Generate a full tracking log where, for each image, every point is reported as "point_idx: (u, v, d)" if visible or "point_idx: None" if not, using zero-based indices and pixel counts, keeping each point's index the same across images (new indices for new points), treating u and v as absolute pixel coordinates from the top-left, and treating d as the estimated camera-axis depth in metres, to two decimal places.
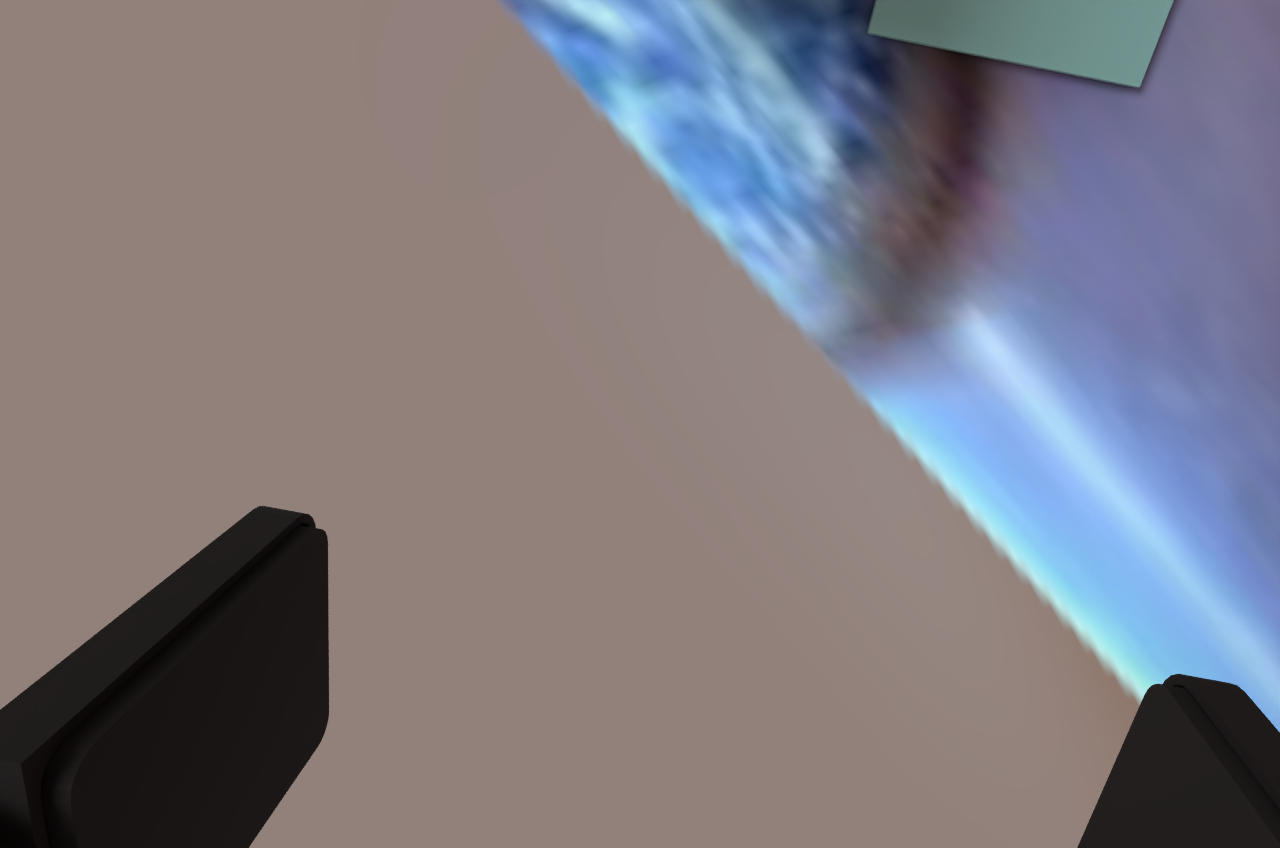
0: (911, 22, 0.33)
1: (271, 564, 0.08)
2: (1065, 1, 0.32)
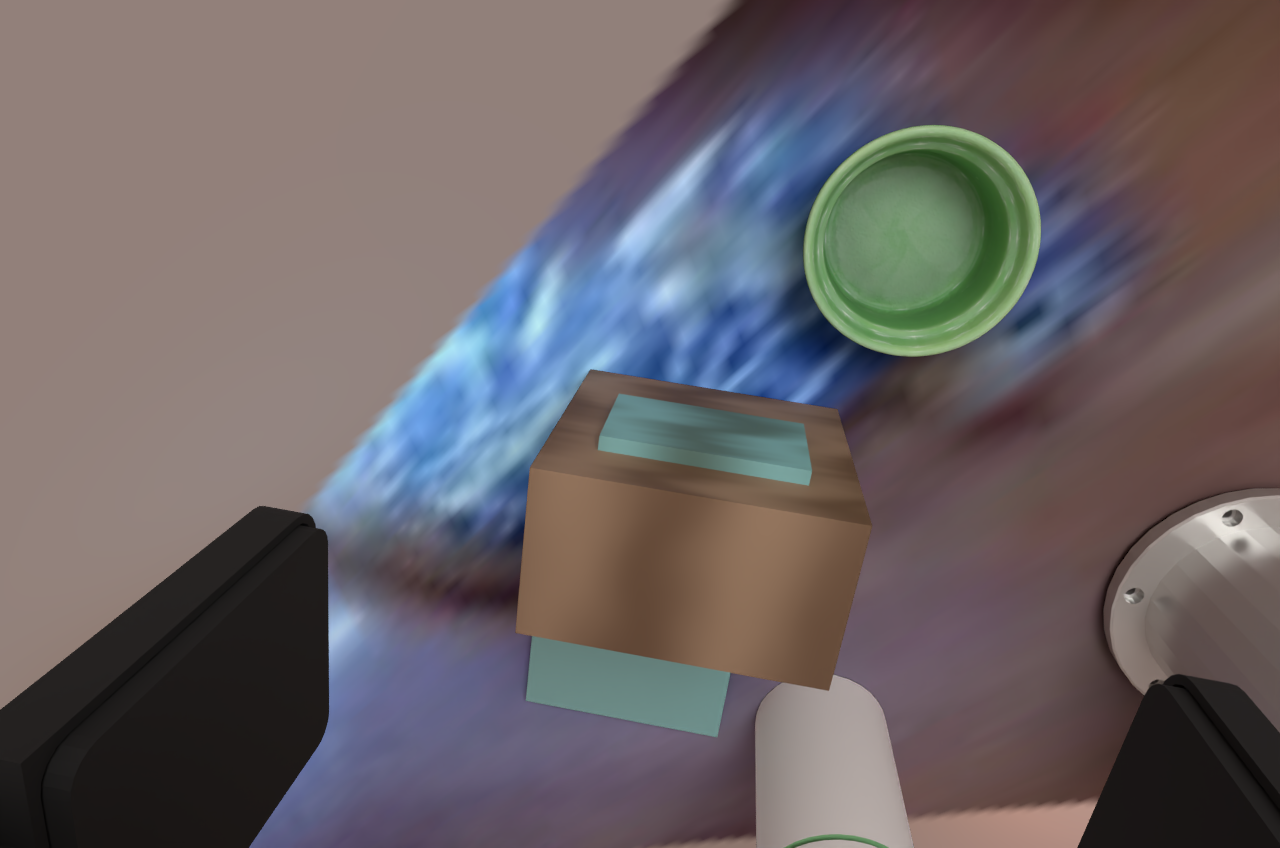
0: None
1: (271, 564, 0.08)
2: (574, 652, 0.45)
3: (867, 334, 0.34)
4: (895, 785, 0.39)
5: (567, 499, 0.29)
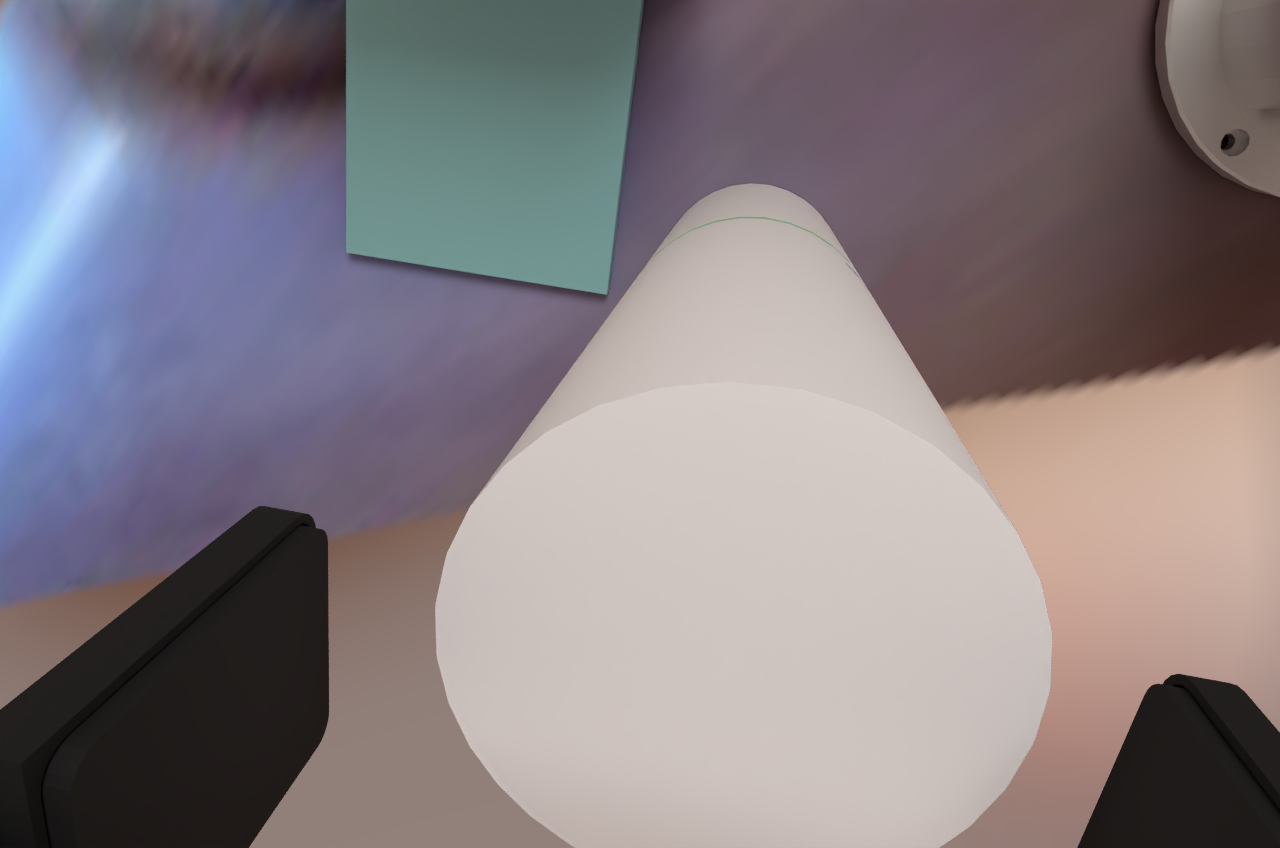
0: (363, 1, 0.31)
1: (271, 564, 0.08)
2: (405, 163, 0.32)
3: None
4: (842, 248, 0.26)
5: None
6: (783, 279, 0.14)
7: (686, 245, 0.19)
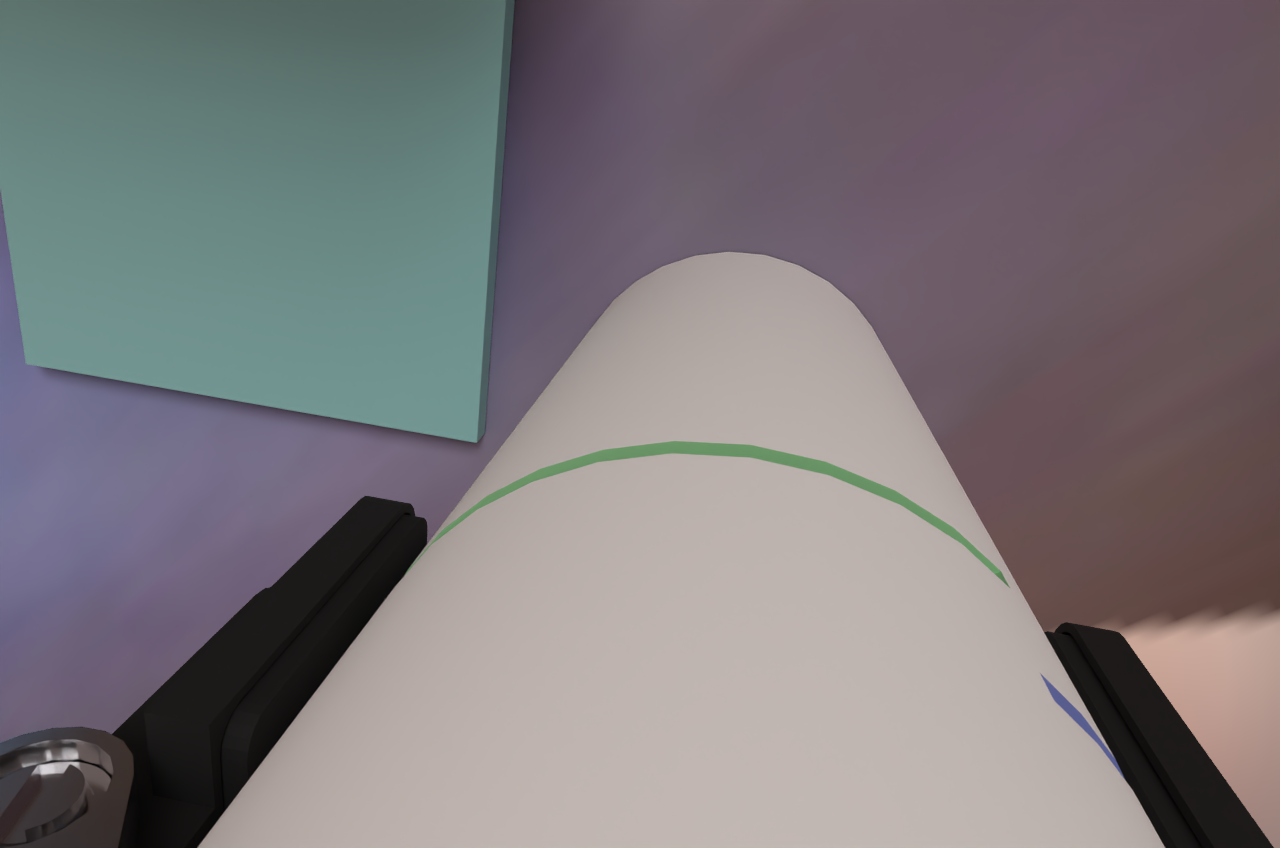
0: None
1: (386, 549, 0.09)
2: (105, 212, 0.18)
3: None
4: (928, 429, 0.12)
5: None
6: None
7: (416, 694, 0.05)
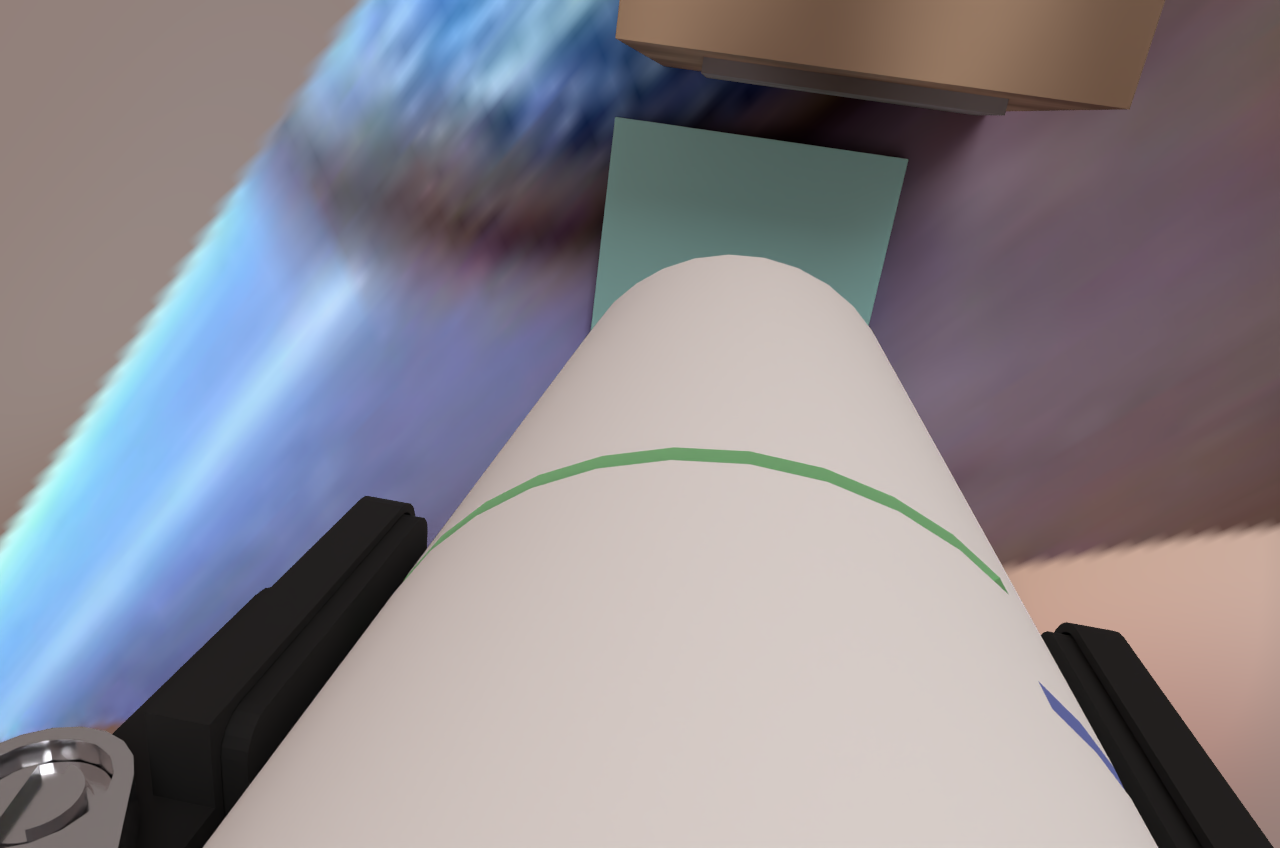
0: (627, 162, 0.32)
1: (386, 550, 0.09)
2: None
3: None
4: (927, 433, 0.12)
5: None
6: None
7: (415, 704, 0.05)
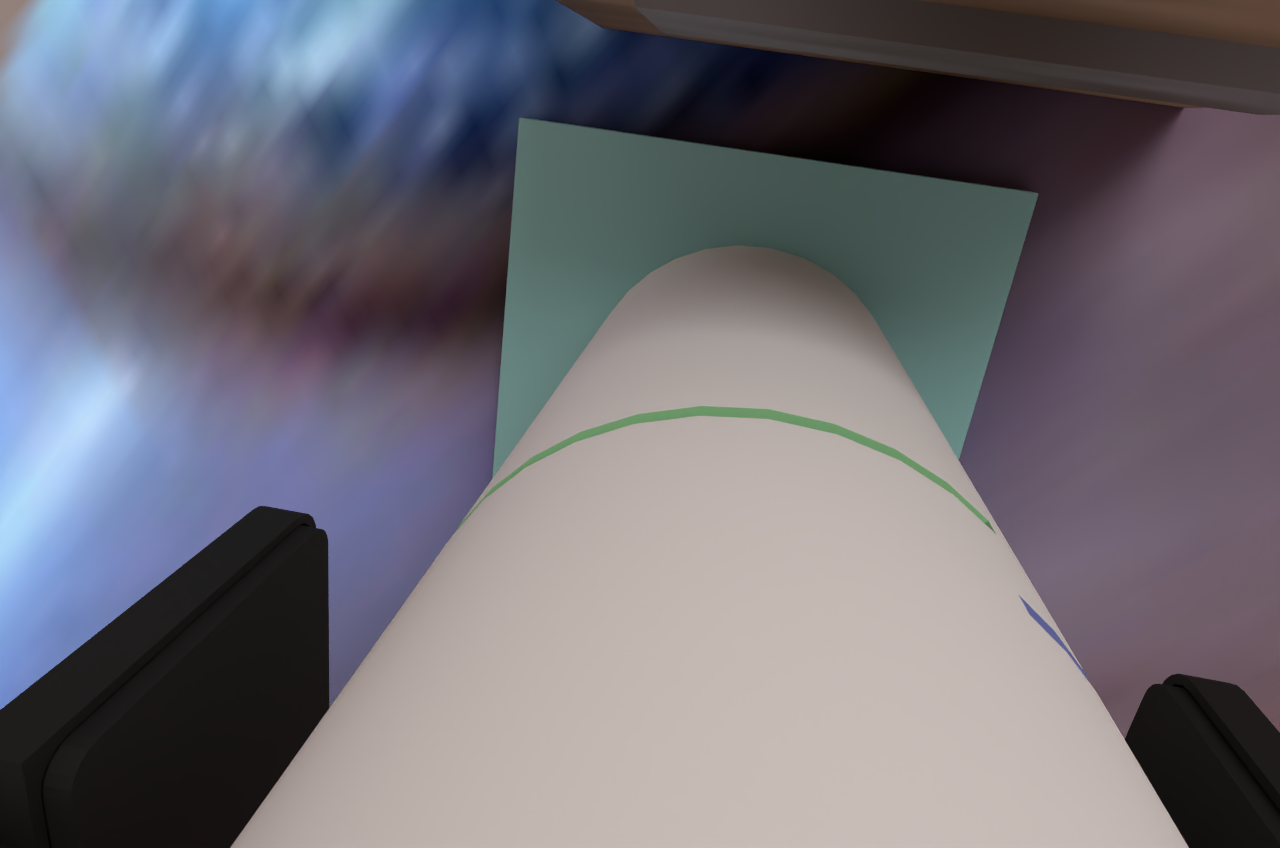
0: (542, 196, 0.18)
1: (271, 564, 0.08)
2: None
3: None
4: (926, 406, 0.13)
5: None
6: None
7: (502, 598, 0.05)
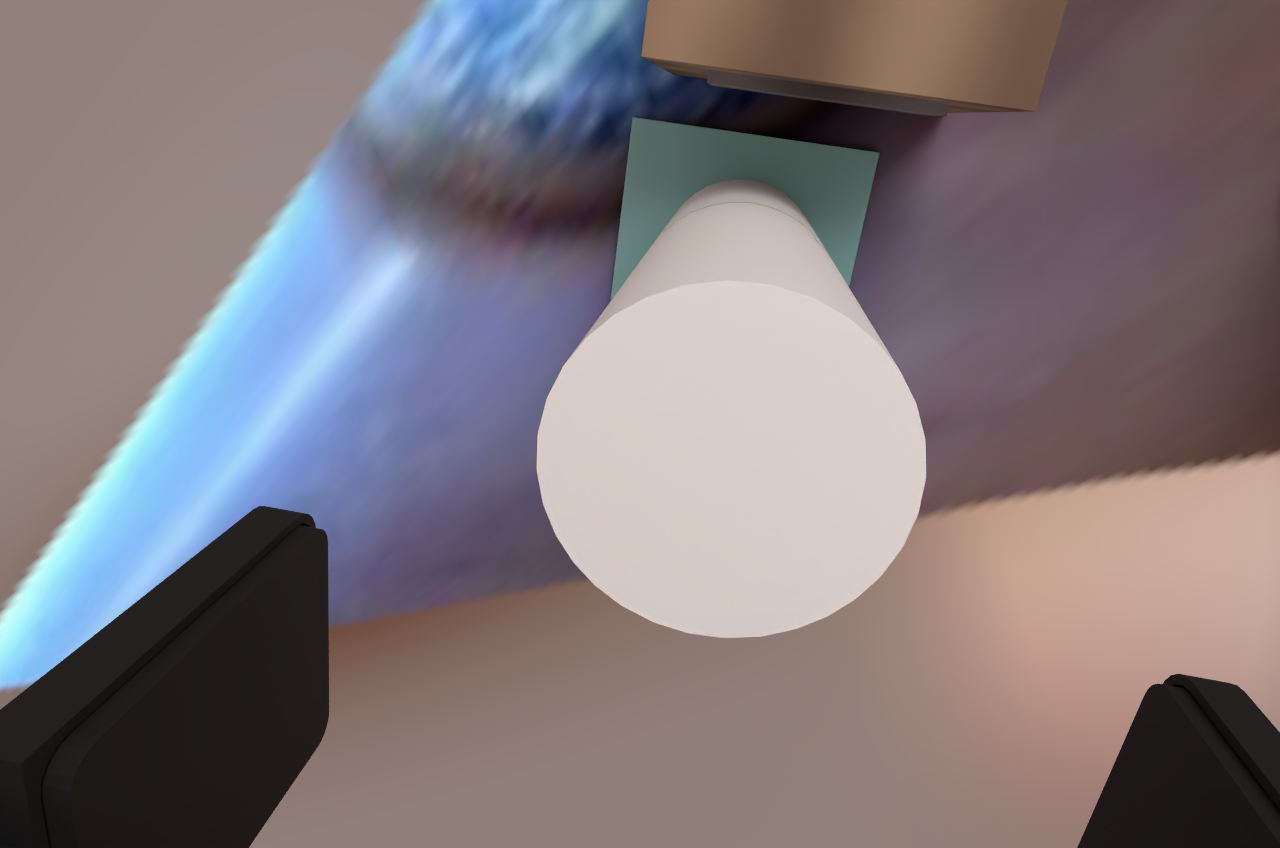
0: (642, 155, 0.37)
1: (271, 564, 0.08)
2: None
3: None
4: (814, 231, 0.32)
5: None
6: (762, 237, 0.19)
7: (689, 221, 0.25)
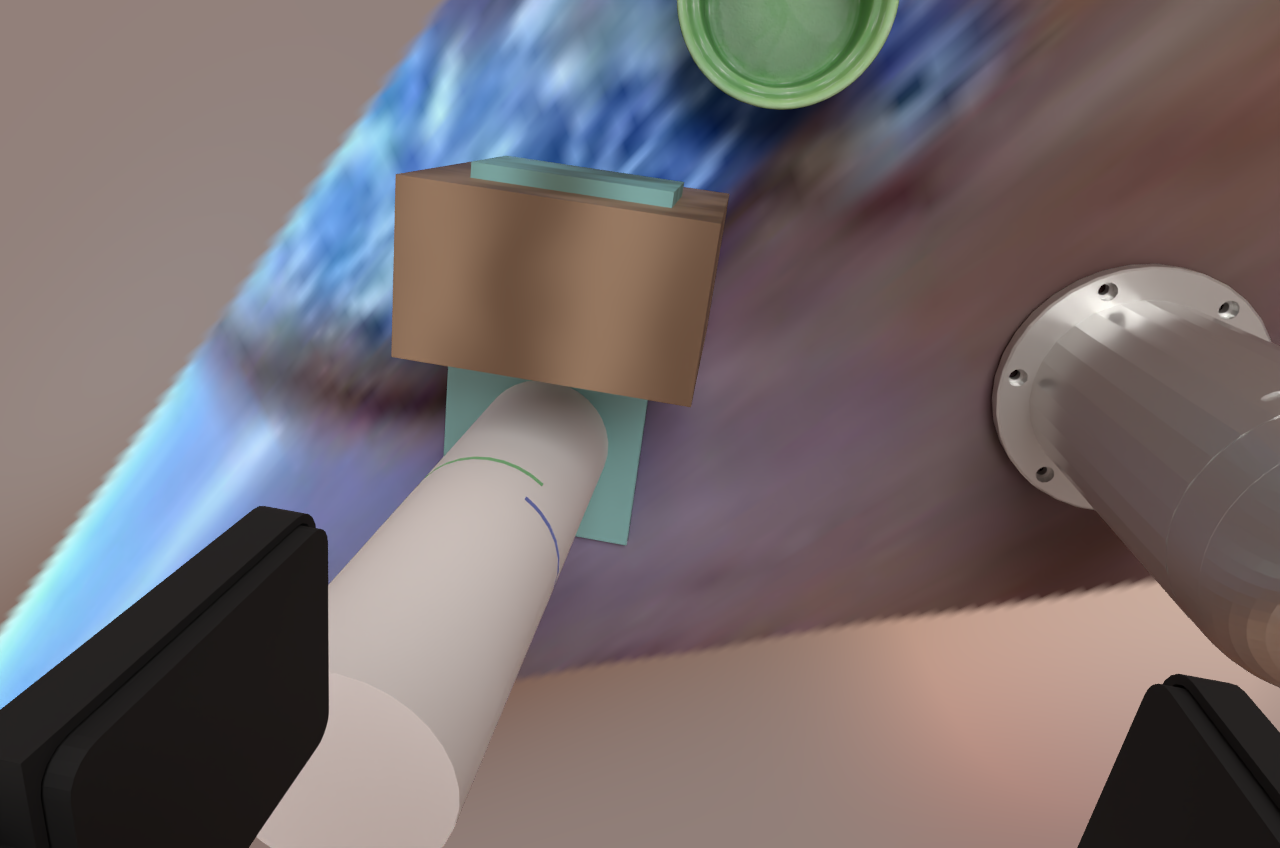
0: None
1: (271, 564, 0.08)
2: None
3: (742, 89, 0.35)
4: (573, 451, 0.39)
5: (433, 207, 0.30)
6: (421, 559, 0.27)
7: (421, 493, 0.32)
